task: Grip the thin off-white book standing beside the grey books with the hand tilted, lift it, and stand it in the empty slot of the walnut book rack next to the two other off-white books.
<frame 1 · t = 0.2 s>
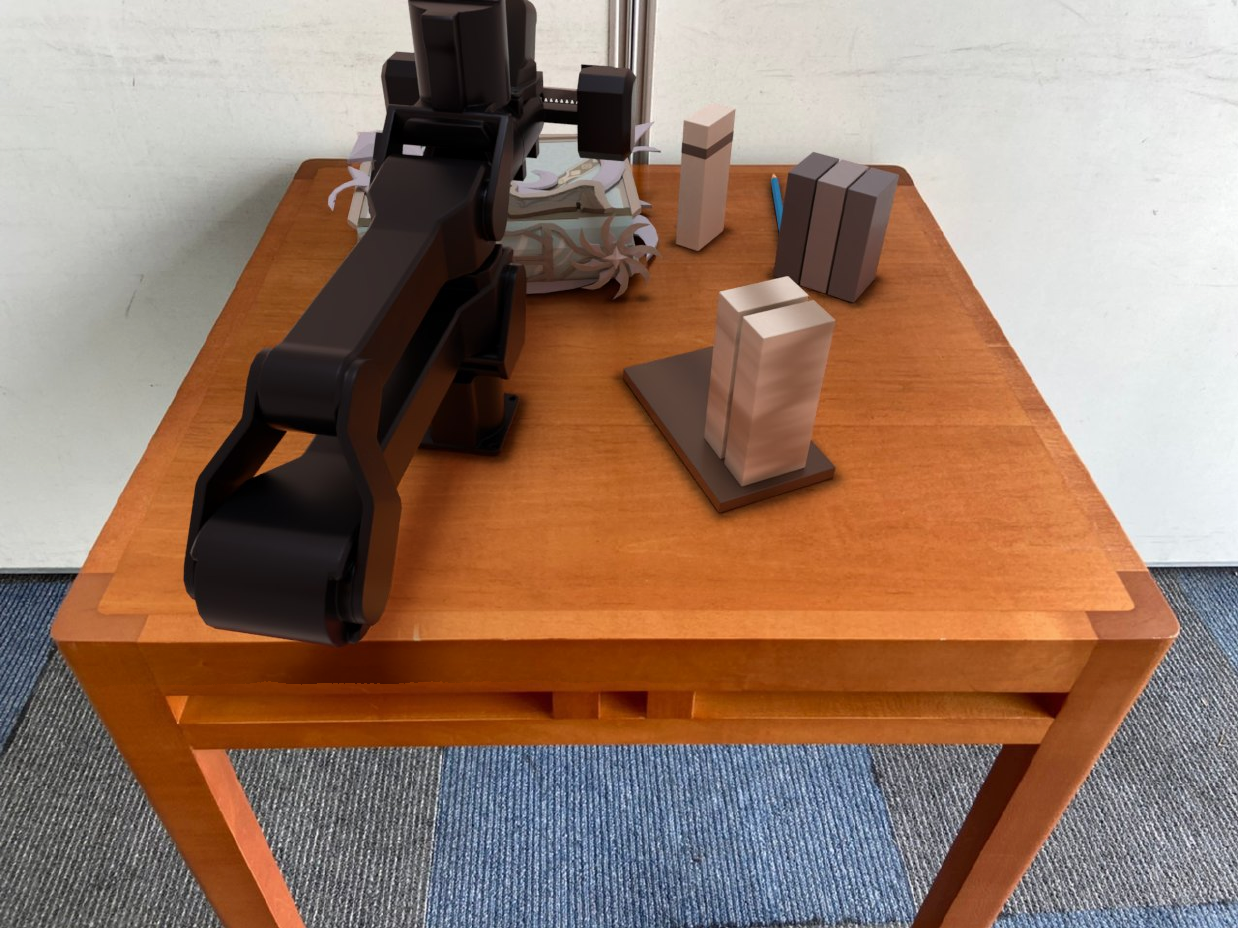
hand: (535, 70, 74), 17 cm above the table, tool horizontal, fingers open, 9 cm apart
grey books: (823, 277, 82), on the table
pencil: (778, 215, 91), on the table
white book: (699, 237, 88), on the table
ornate book: (511, 248, 86), on the table
white book rack: (721, 425, 67), on the table
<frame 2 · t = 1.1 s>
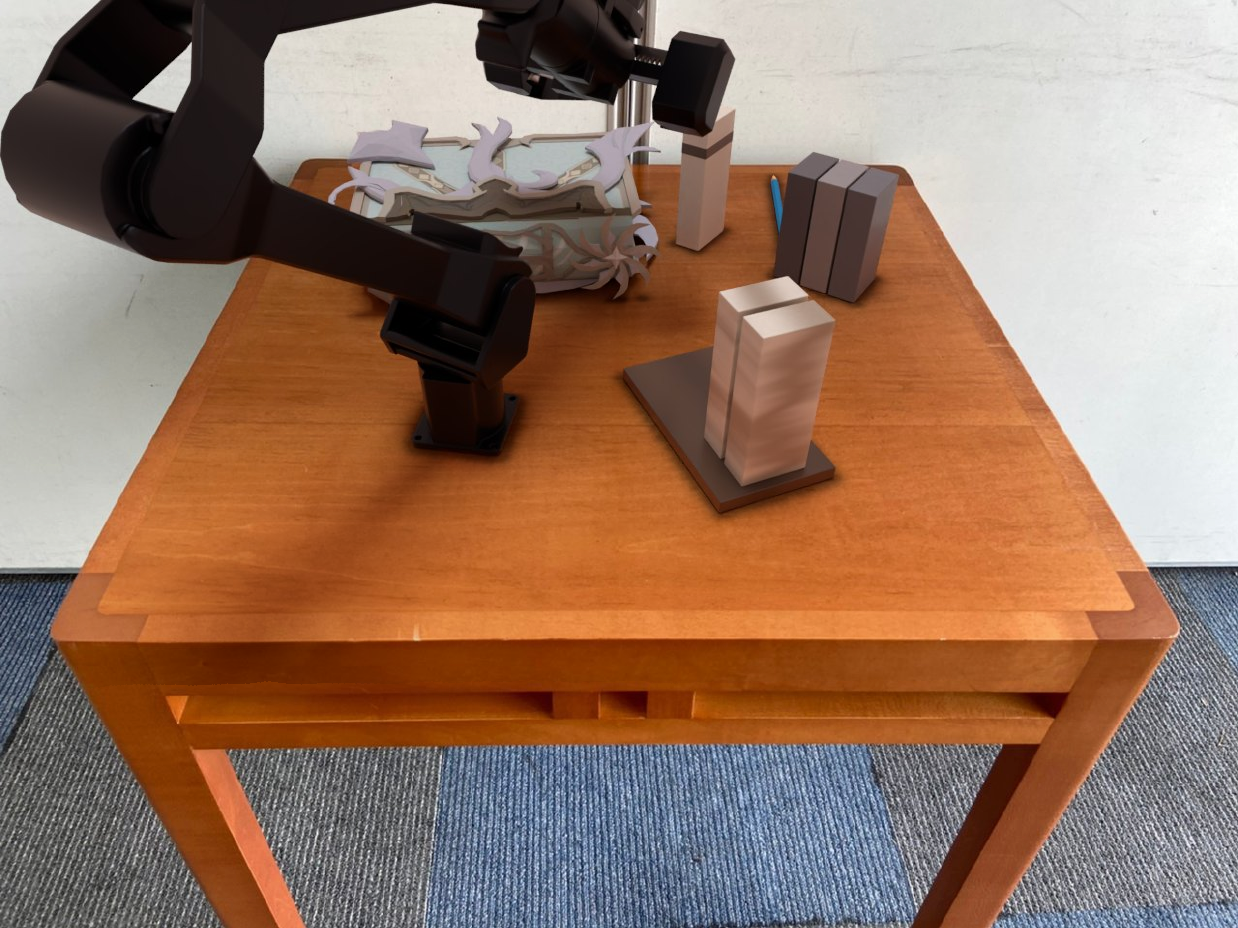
hand: (644, 105, 74), 15 cm above the table, tool tilted 55°, fingers open, 9 cm apart
nothing on the table moved.
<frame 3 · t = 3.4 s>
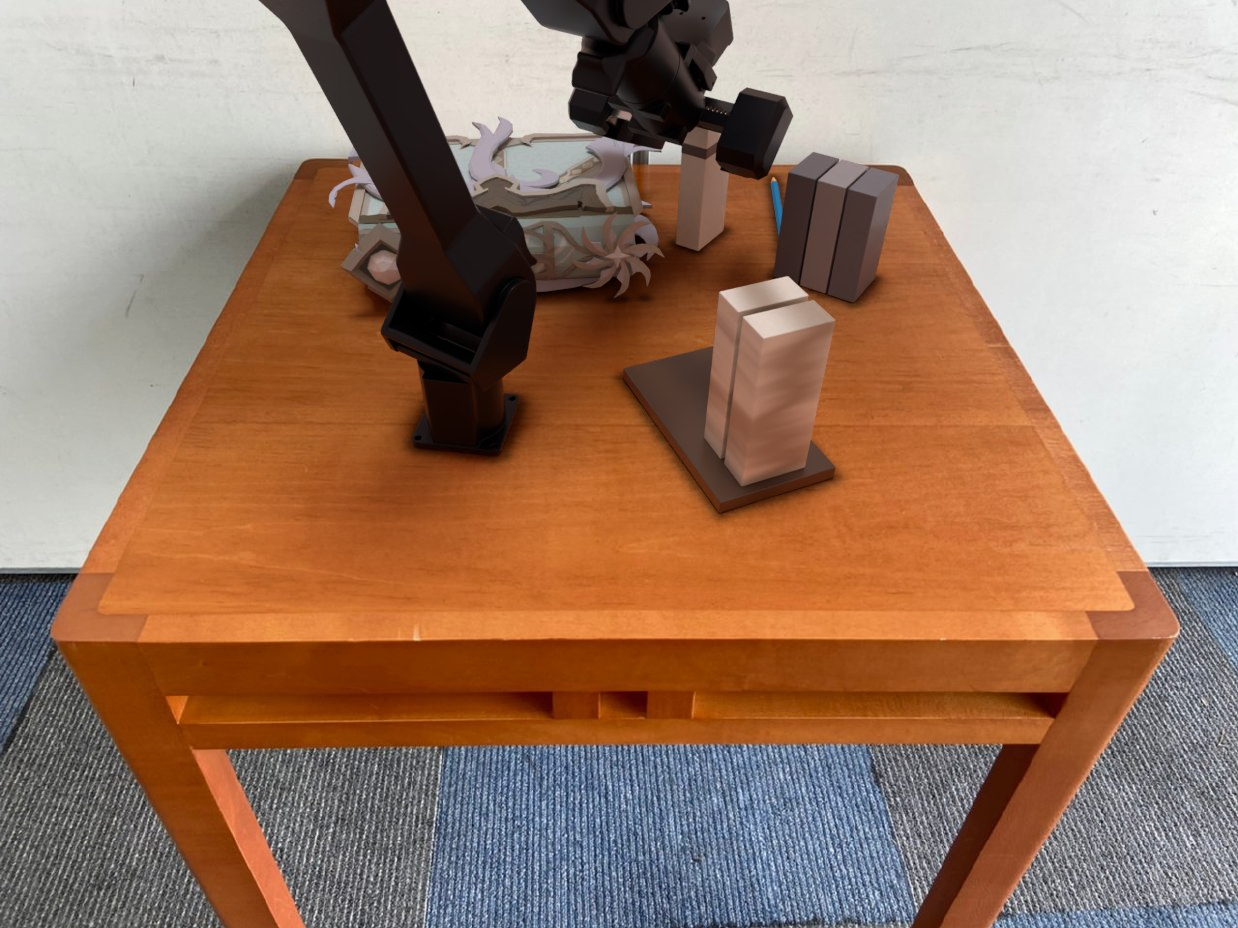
hand: (705, 156, 82), 8 cm above the table, tool tilted 45°, fingers open, 9 cm apart
ornate book: (511, 247, 86), on the table, touching gripper
everything else where it was.
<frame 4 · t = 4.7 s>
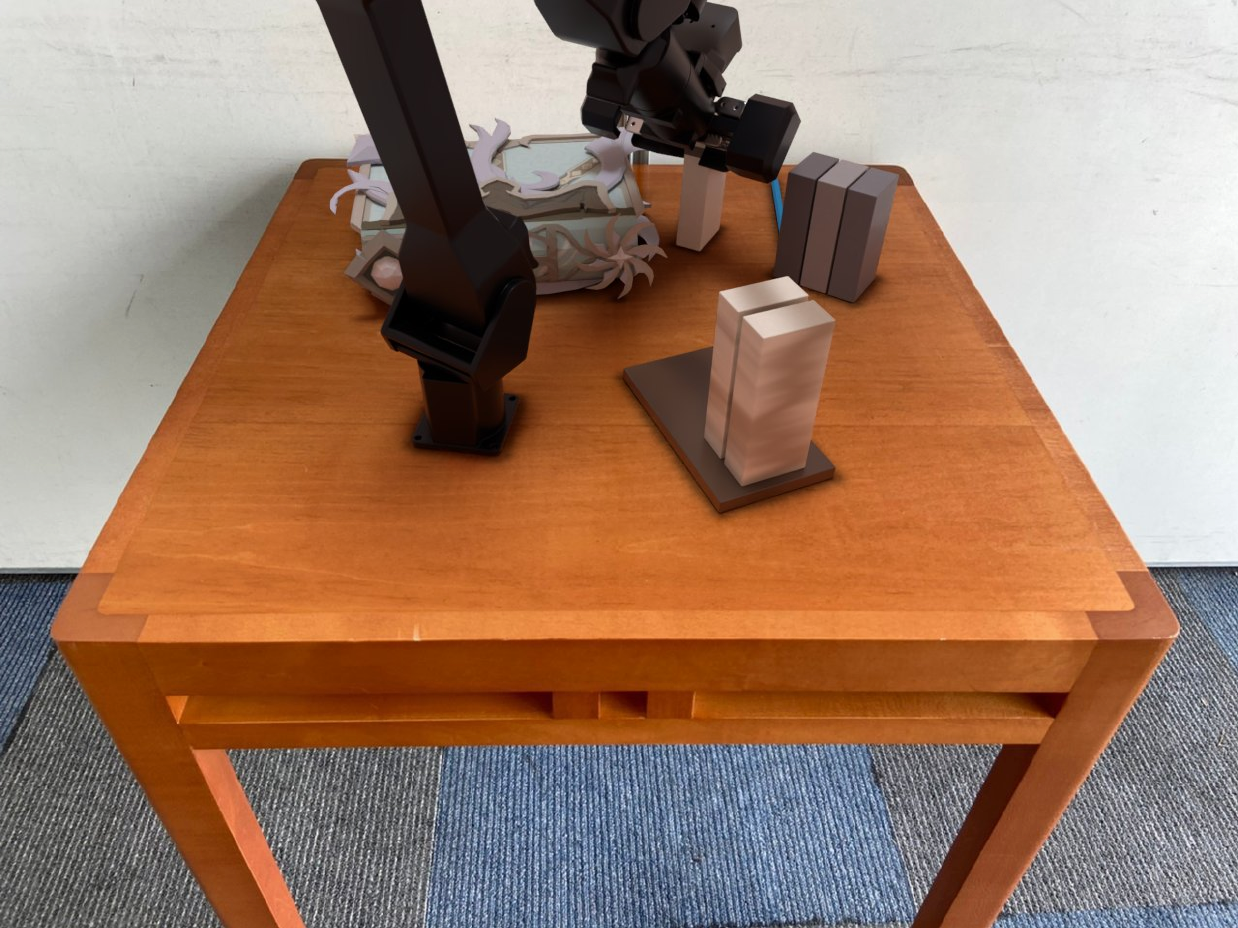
hand: (714, 159, 84), 7 cm above the table, tool tilted 45°, fingers closed on white book, 3 cm apart
white book: (697, 237, 88), on the table, touching gripper
ornate book: (512, 249, 86), on the table
everything else where it was.
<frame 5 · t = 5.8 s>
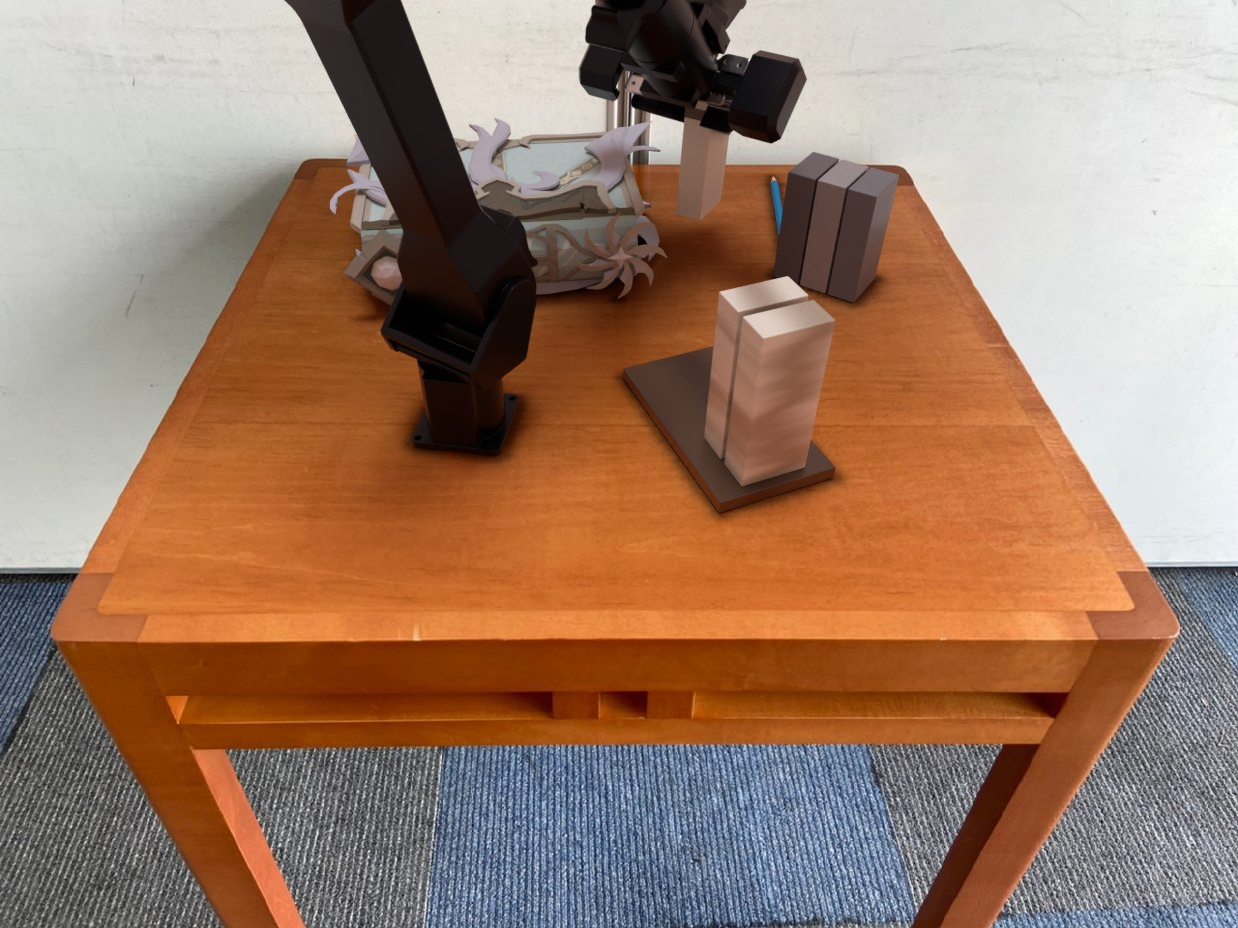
hand: (715, 126, 81), 10 cm above the table, tool tilted 45°, fingers closed on white book, 3 cm apart
white book: (698, 207, 85), point 3 cm above the table, touching gripper
everything else where it was.
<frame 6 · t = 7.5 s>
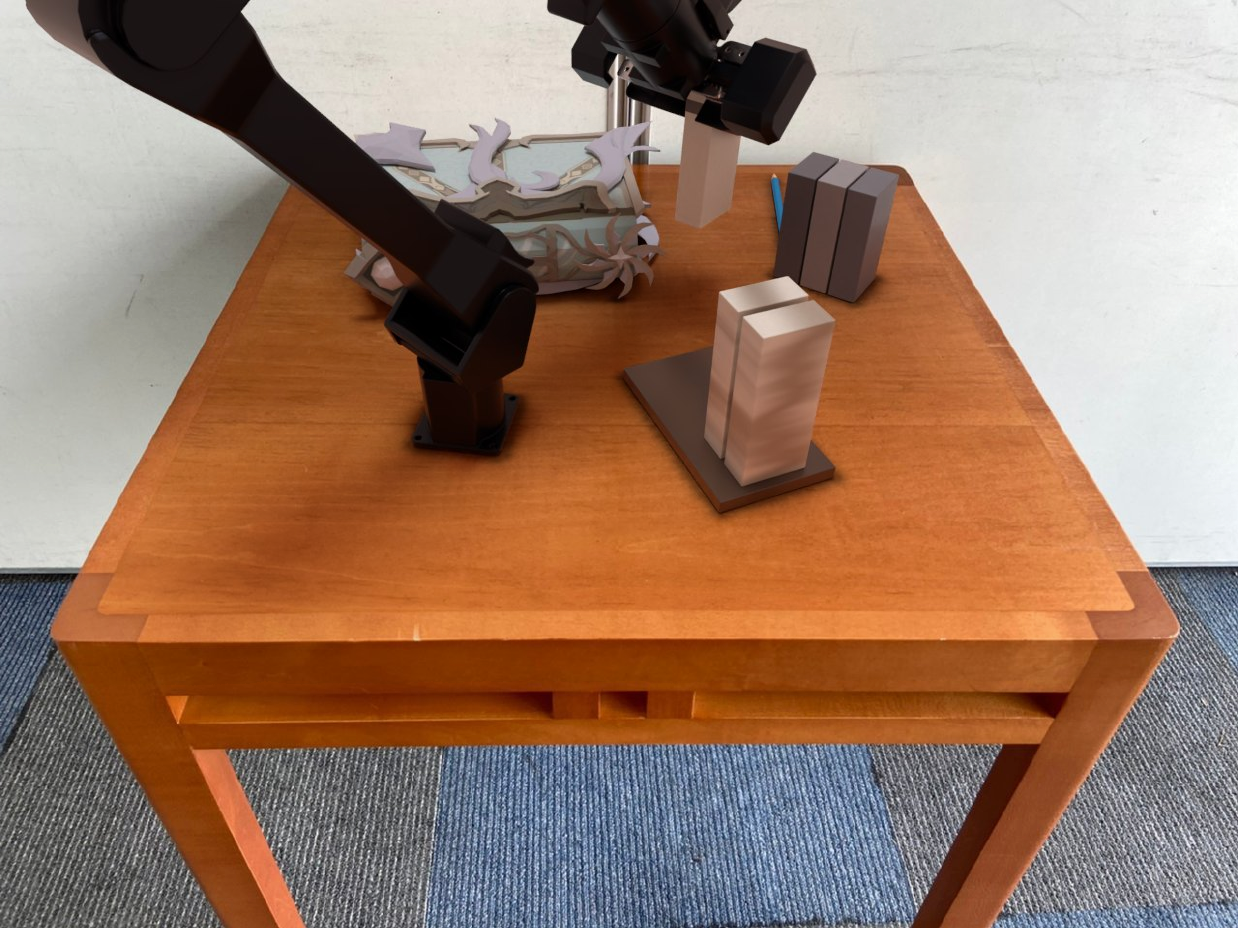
hand: (725, 125, 72), 14 cm above the table, tool tilted 45°, fingers closed on white book, 3 cm apart
white book: (702, 214, 76), point 7 cm above the table, touching gripper
everything else where it was.
when the fingers open (8 cm above the table, at t = 11.6 s): white book stays where it is, resting on white book rack.
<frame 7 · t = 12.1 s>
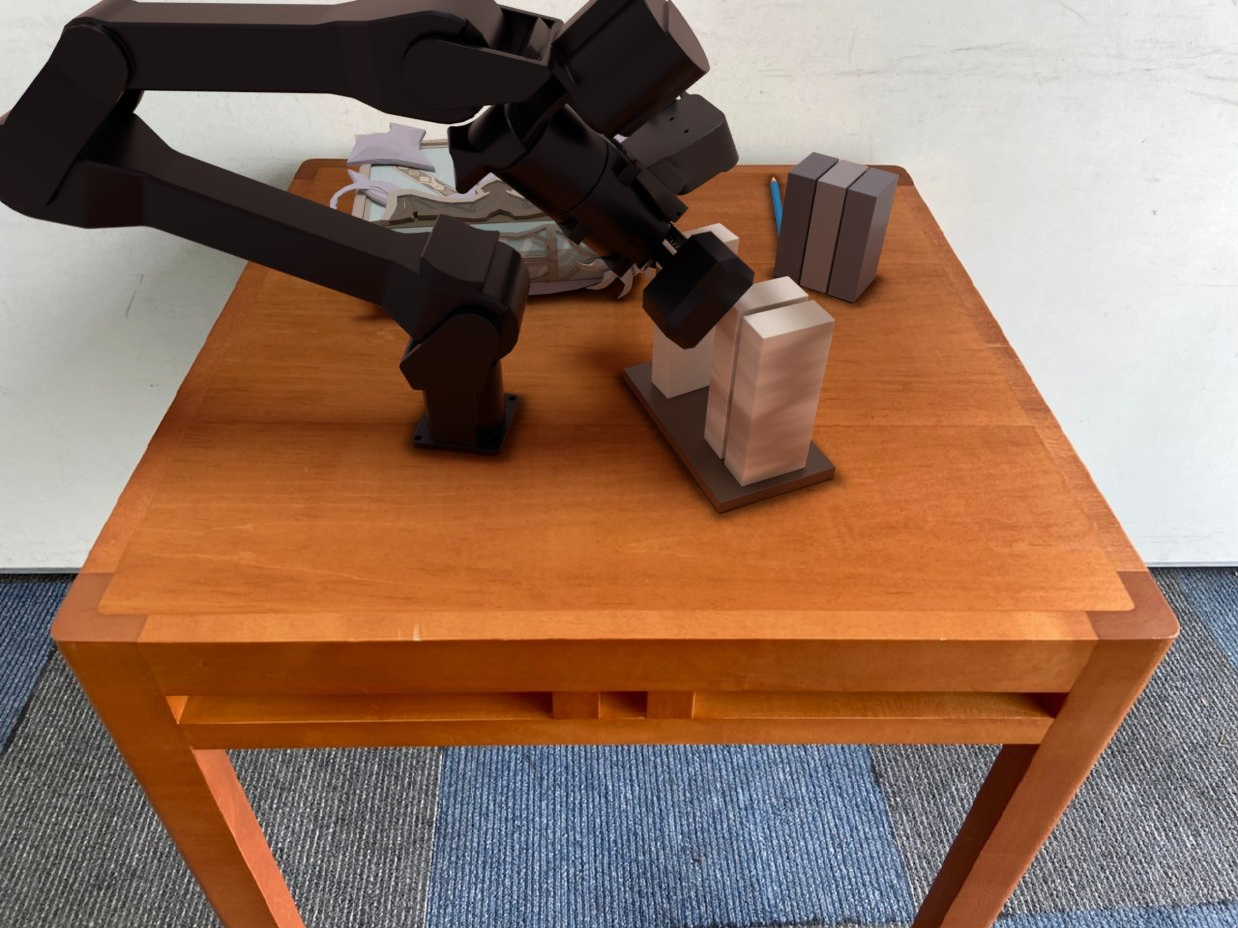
hand: (717, 294, 65), 8 cm above the table, tool tilted 45°, fingers open, 6 cm apart
white book: (687, 381, 69), point 1 cm above the table, touching white book rack
everything else where it was.
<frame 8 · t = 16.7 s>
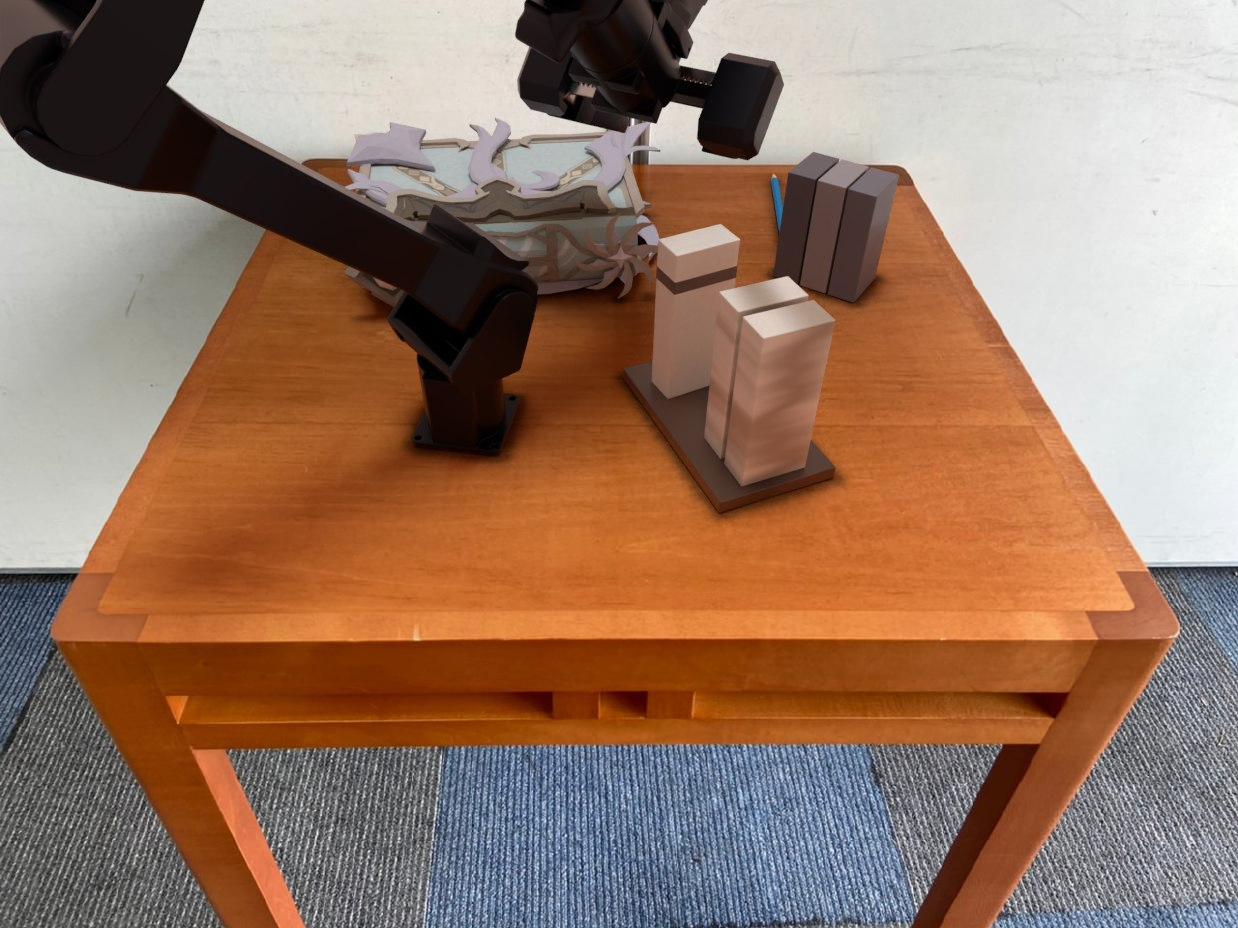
hand: (676, 139, 72), 14 cm above the table, tool tilted 45°, fingers open, 9 cm apart
nothing on the table moved.
at the end: white book 0.5 cm from the target spot on the white book rack, point 1.0 cm above the white book rack's base; white book tilted 0° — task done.
